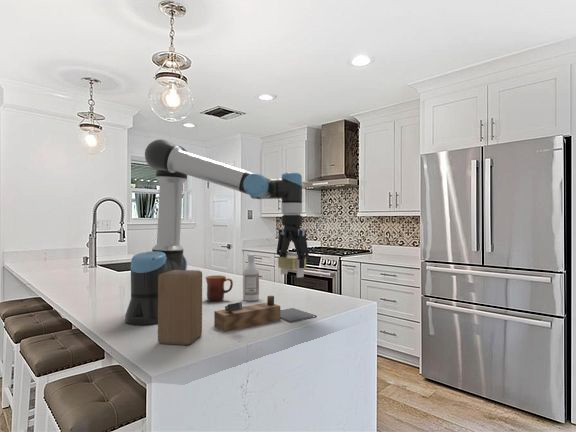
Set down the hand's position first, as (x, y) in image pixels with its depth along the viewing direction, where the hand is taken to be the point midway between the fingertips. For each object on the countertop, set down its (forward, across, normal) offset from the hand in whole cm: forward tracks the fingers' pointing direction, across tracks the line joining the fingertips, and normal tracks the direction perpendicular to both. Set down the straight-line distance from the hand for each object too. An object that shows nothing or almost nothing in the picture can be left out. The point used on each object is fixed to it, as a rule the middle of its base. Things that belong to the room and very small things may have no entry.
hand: (291, 275), depth 137 cm
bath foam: (+15, +32, -2) cm, 35 cm away
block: (+15, -2, +43) cm, 46 cm away
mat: (+15, 0, 0) cm, 15 cm away
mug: (+15, +39, +10) cm, 43 cm away
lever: (+9, +1, +26) cm, 27 cm away
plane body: (+15, +1, +18) cm, 23 cm away
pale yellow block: (-3, 0, 0) cm, 3 cm away
